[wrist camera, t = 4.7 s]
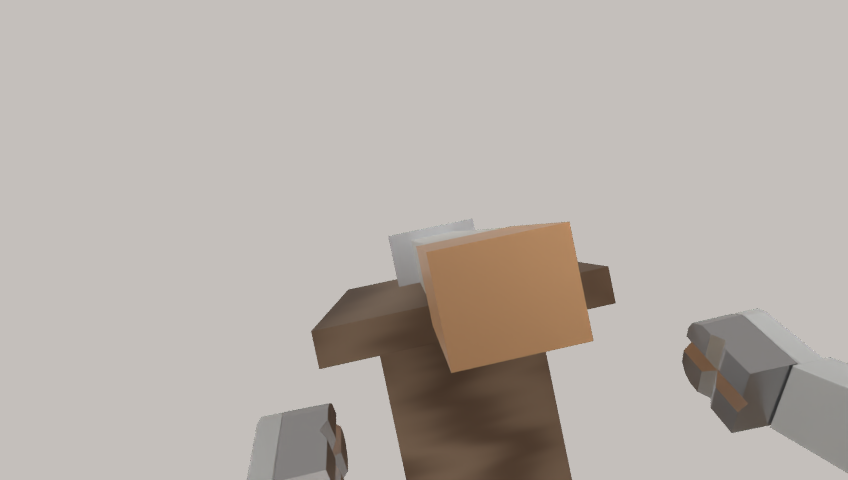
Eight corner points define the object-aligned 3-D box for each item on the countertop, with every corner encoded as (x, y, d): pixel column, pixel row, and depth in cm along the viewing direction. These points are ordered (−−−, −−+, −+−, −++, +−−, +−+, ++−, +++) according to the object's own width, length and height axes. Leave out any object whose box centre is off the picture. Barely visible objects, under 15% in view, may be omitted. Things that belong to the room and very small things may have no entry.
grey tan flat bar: (403, 384, 10) (371, 238, 9) (398, 278, 32) (389, 236, 32) (639, 330, 10) (611, 188, 10) (469, 263, 33) (460, 221, 33)
